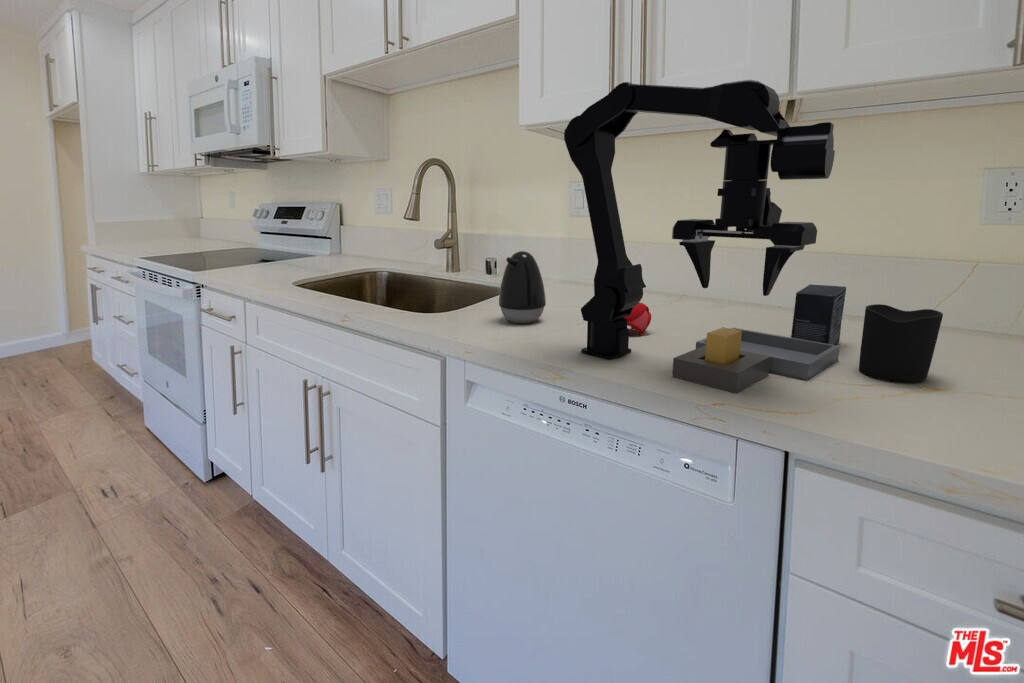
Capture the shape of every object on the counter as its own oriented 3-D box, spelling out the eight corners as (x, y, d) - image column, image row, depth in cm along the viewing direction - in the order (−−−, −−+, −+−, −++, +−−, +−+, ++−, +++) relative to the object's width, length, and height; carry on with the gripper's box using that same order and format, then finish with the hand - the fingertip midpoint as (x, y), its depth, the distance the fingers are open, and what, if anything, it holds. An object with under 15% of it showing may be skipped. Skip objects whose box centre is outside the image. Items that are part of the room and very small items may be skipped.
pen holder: (893, 363, 89) (904, 303, 87) (946, 382, 80) (960, 315, 78) (841, 366, 88) (851, 305, 85) (889, 386, 79) (901, 318, 76)
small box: (801, 337, 106) (808, 282, 103) (839, 342, 102) (848, 286, 99) (786, 349, 98) (794, 290, 95) (828, 355, 94) (837, 295, 91)
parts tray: (694, 355, 94) (696, 341, 94) (732, 340, 103) (733, 327, 103) (807, 380, 82) (809, 364, 81) (837, 360, 91) (840, 345, 90)
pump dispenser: (489, 322, 119) (487, 252, 115) (516, 313, 128) (515, 247, 124) (528, 328, 114) (528, 254, 110) (554, 319, 122) (555, 250, 118)
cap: (643, 311, 114) (619, 297, 112) (659, 307, 108) (634, 292, 107) (628, 345, 112) (604, 332, 111) (643, 343, 106) (618, 328, 105)
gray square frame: (672, 376, 84) (673, 358, 83) (707, 361, 91) (708, 343, 90) (736, 393, 77) (738, 372, 76) (768, 375, 84) (770, 356, 83)
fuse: (703, 377, 83) (707, 333, 81) (718, 370, 87) (722, 327, 85) (722, 382, 81) (726, 336, 79) (737, 374, 85) (741, 330, 83)
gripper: (838, 179, 75) (823, 292, 79) (711, 182, 88) (703, 278, 93) (807, 178, 68) (792, 303, 72) (673, 182, 81) (666, 286, 85)
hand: (734, 291), depth 81 cm, fingers open, 9 cm apart
